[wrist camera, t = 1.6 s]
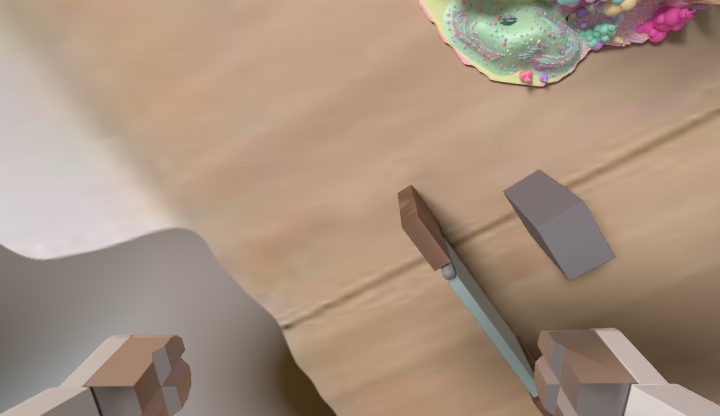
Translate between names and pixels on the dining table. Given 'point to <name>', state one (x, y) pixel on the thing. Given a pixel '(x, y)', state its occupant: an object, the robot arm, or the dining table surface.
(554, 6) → the candy landscape model
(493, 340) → the door
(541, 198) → the block
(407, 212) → the wooden blocks
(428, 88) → the dining table surface
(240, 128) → the dining table surface
